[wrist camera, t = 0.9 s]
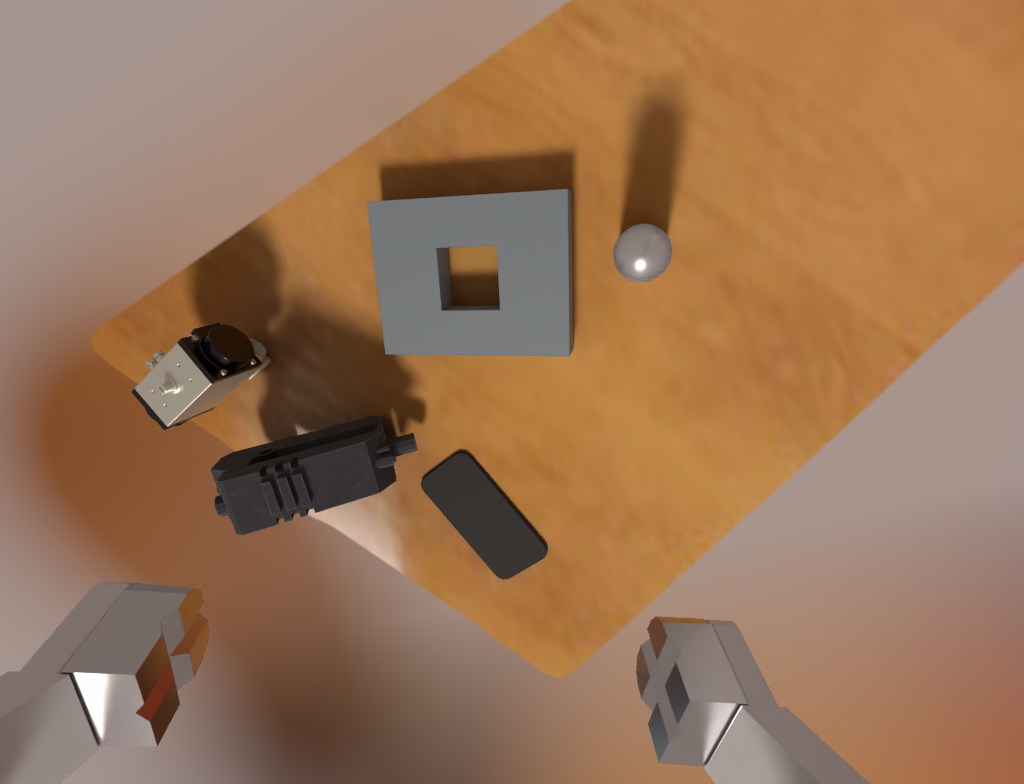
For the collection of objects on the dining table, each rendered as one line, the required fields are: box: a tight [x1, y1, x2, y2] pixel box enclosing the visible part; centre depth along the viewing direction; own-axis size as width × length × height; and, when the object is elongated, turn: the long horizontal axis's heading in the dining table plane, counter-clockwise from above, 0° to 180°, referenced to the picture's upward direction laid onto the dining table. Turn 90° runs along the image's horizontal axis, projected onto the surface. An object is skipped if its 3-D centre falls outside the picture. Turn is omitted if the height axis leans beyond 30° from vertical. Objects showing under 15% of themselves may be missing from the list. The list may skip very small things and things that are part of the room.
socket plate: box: [367, 189, 573, 356], centre depth 47 cm, size 18×14×3 cm
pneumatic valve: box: [132, 323, 271, 430], centre depth 52 cm, size 6×12×12 cm, turn 128°
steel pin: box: [614, 224, 672, 282], centre depth 40 cm, size 4×4×9 cm
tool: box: [211, 416, 418, 535], centre depth 53 cm, size 6×19×15 cm, turn 102°
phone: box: [421, 452, 548, 579], centre depth 57 cm, size 7×1×15 cm
